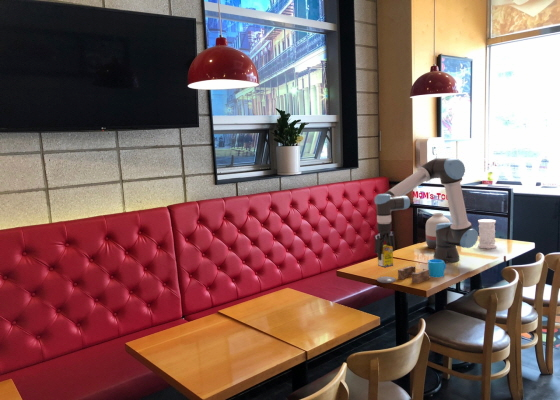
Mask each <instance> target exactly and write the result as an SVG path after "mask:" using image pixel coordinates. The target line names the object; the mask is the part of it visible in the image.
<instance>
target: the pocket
mask: <svg viewBox="0 0 560 400" xmlns="http://www.w3.org/2000/svg"><path fill="white" fill-rule="evenodd" d="M397 277H398V280H402V281H405V278H408V277H411V283H414V284H419V283H422V282H424V281H427V280H430V278H431V277H430V276H429V270H428V268H423V269H422V270H420V271H417V272H416V266H414V265H409V266H406V267H403V268H399V269H397Z"/></svg>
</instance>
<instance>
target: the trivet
mask: <svg viewBox="0 0 560 400" xmlns="http://www.w3.org/2000/svg"><path fill="white" fill-rule="evenodd" d="M396 280H397V279H396V278H395V277H394V276H393V277H392V276H379V277H377V278H376V281H377V282H378V283H380V284H381V283H382V284H391V283H395V282H396Z"/></svg>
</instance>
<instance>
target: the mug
mask: <svg viewBox="0 0 560 400" xmlns="http://www.w3.org/2000/svg"><path fill="white" fill-rule="evenodd" d="M446 267H447V265H446V262H444V261H443V260H439V259H434V258H432V259H428V260H427V269H428V270H429V277H430V278H443V277H444V276H445V270H446Z"/></svg>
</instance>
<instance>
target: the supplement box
mask: <svg viewBox="0 0 560 400" xmlns="http://www.w3.org/2000/svg"><path fill="white" fill-rule="evenodd" d="M393 253H394V252H393V247H392V246H388V245H387V244H384V245H383V251H382V254H383V265H384V266H380V265H379V260H378V259H377V266H378V267H381V268H385V269H386V268H389V267H394V254H393Z"/></svg>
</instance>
